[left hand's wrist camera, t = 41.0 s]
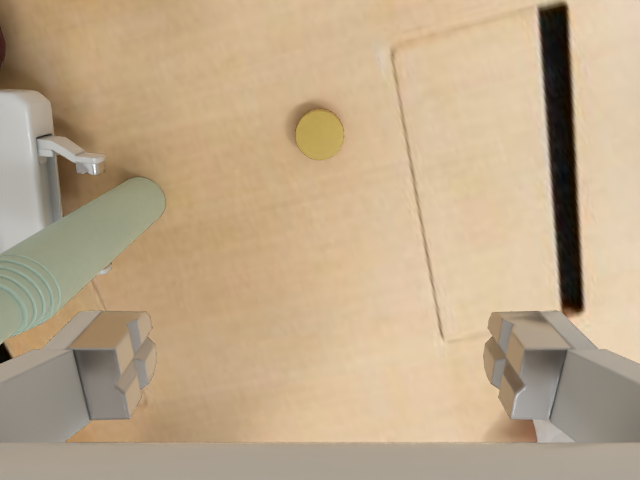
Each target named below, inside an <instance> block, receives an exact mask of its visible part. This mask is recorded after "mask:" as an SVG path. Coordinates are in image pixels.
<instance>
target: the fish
mask: <svg viewBox="0 0 640 480" xmlns="http://www.w3.org/2000/svg"><path fill="white" fill-rule="evenodd" d="M533 424H534V427H535V431H536V436H537V442H575V441H574V440H572V439H571V438H570V437H569V436H567V435H566V434H565V433H563V432H562V431H561V430H560V429H558V428H557V427H556V426H554V425H553V424H552V423H550V420H533Z"/></svg>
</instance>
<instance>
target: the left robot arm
mask: <svg viewBox="0 0 640 480" xmlns="http://www.w3.org/2000/svg"><path fill="white" fill-rule="evenodd" d="M151 330H152V323H151V318H150V315H149V314H148V313H147V312H135V311H81V312H79V313H78V314H77V315H76V316H75V317H74V318H72V319H71V320H70V321H69V322H68V323H67V324H66V325H65V326H64V327H63V328H62V329H61V330H60V331H59V332H58V333H57V334H56V335H55V336H54V337H53V338H52V339H51V340H50V341H49V342H48V343H47V344H46V345H45V346H44V347H43V348H42V349H34V350H31V351H29V352H27V353H25V354H22V355H20V356H18V357H15V358H13V359H11V360H8V361H6V362H4V363H1V364H0V480H640V364H638V363H636V362H634V361H632V360H629V359H627V358H625V357H622V356H620V355H618V354H615V353H613V352H611V351H609V350H606V349H598V348H597V347H596V346H595V345H594V344H593V343H592V342H591V341H590V340H589V339H588V338H587V337H586V336H585V335H584V334H583V333H582V332H581V331H580V330H579V329H578V328H577V327H576V326H575V325H574V324H573V323H572V322H571V321H570V320H569V319H568V318H567V317H566V316H565V315H564V314H563V313H562V312H559V311H556V310H554V311H520V312H493V313H492V314H491V316H490V318H489V323H488V330H489V331H490V333H491V334H492V337H491V338H490V339H489V340H488V341H487V342H486V343H485V347H484V355H483V358H484V368H485V371H486V375H487V377H488V379H489V381H490V383H491V384H492V385H494V386H495V387H497V388H498V389H500V391H499V397H498V398H499V399H500V401H501V403H502V405H503V407H504V408H505V410H506V412H507V414H508V416H509V417H510V419H527V420H550V423H552V424H553V425H554V426H556V427H557V428H558V429H560V430H561V431H562V432H563V433H565V434H566V435H567V436H569V437H570V438H571V439H572V440H574V441H575V442H65V441H66V440H68V439H69V438H70V437H72V436H73V435H74V434H75V433H77V432H78V431H79V430H81V429H82V428H83V427H85V426H86V425H87V424H88V423H90V420H113V419H130V417H131V416H132V414H133V412H134V410H135V408H136V407H137V405H138V403H139V401H140V399H141V398H142V397H141V391H140V389H142V388H143V387H145V386H146V385H148V384H149V383H150V381H151V379H152V377H153V375H154V371H155V367H156V347H155V343H154V342H153V341H152V340H151V339H150V338H149V337H148V334H149V333H150V331H151Z"/></svg>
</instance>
